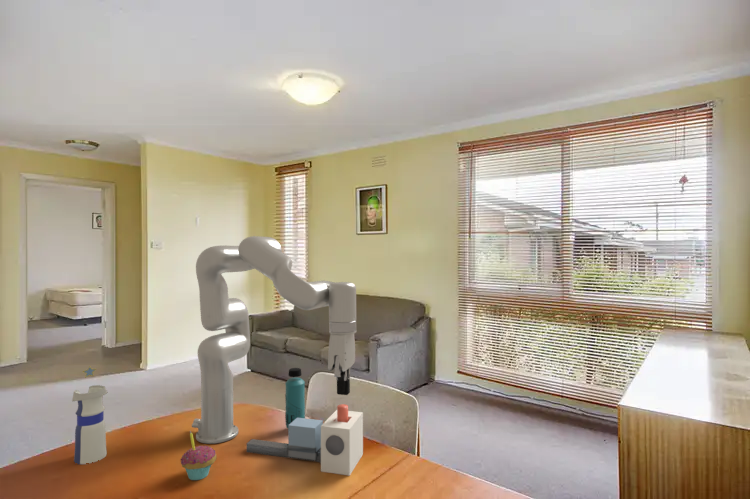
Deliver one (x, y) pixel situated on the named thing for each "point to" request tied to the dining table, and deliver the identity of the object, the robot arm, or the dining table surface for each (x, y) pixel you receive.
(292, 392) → the beverage bottle
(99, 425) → the cream tall piece
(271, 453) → the rail
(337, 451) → the cabinet
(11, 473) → the dining table surface
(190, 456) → the cupcake
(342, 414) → the button
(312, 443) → the carriage
